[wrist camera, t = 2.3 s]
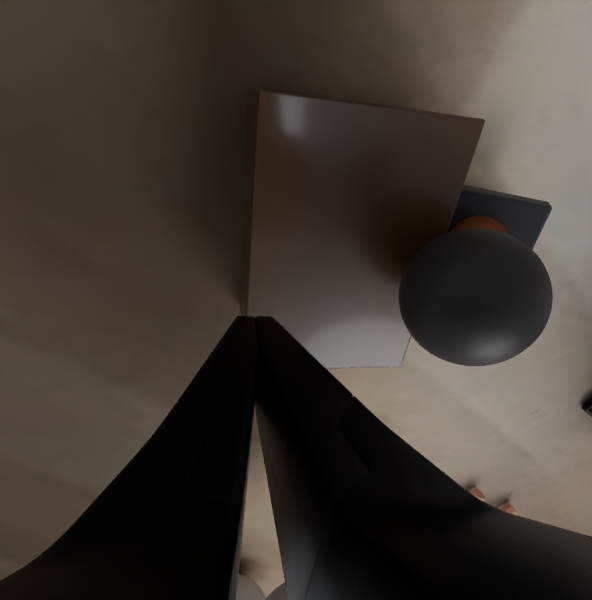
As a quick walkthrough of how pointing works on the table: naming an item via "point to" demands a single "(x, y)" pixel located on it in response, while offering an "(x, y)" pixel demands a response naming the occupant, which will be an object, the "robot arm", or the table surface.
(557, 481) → the table surface
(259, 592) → the white oval body
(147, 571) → the robot arm
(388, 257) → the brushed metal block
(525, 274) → the ball-topped stamp
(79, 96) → the table surface
